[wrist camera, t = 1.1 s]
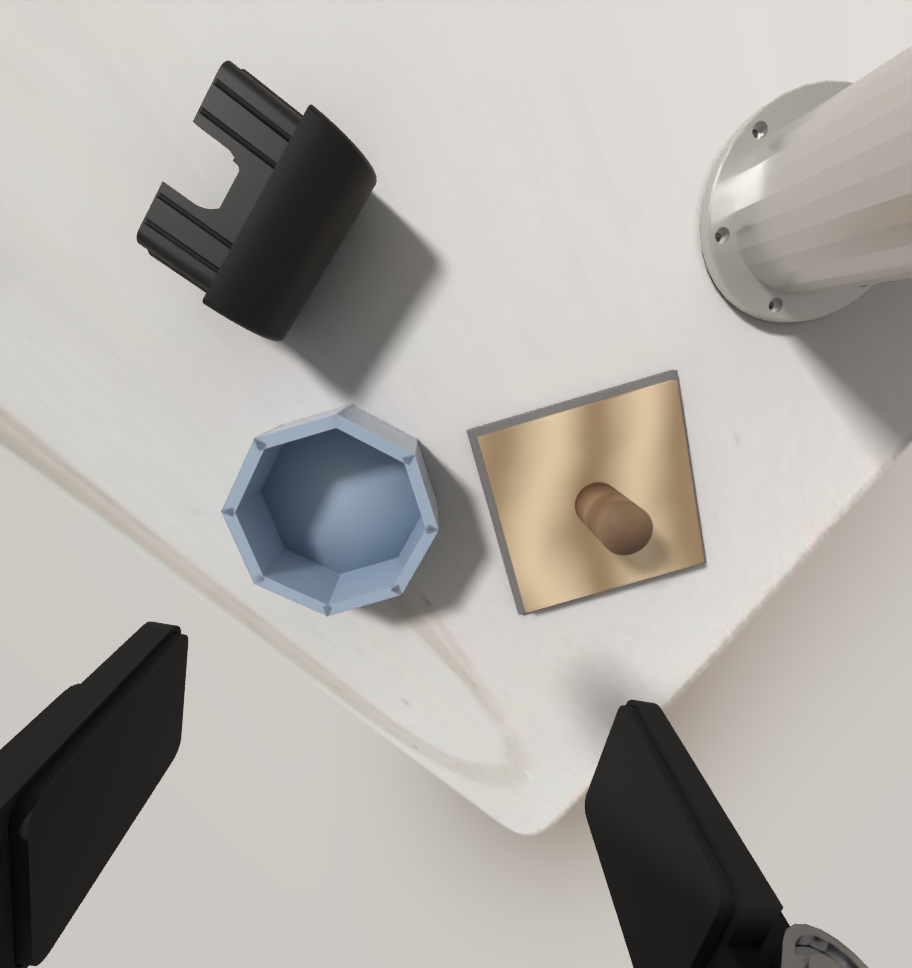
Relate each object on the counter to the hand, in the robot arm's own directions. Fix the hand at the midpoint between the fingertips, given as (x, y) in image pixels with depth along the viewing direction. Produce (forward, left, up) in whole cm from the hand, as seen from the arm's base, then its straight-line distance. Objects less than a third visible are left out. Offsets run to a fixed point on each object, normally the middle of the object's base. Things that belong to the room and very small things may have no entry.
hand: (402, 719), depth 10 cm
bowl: (+5, 0, -23) cm, 23 cm away
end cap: (+3, -16, -23) cm, 28 cm away
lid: (-11, +5, -22) cm, 25 cm away
